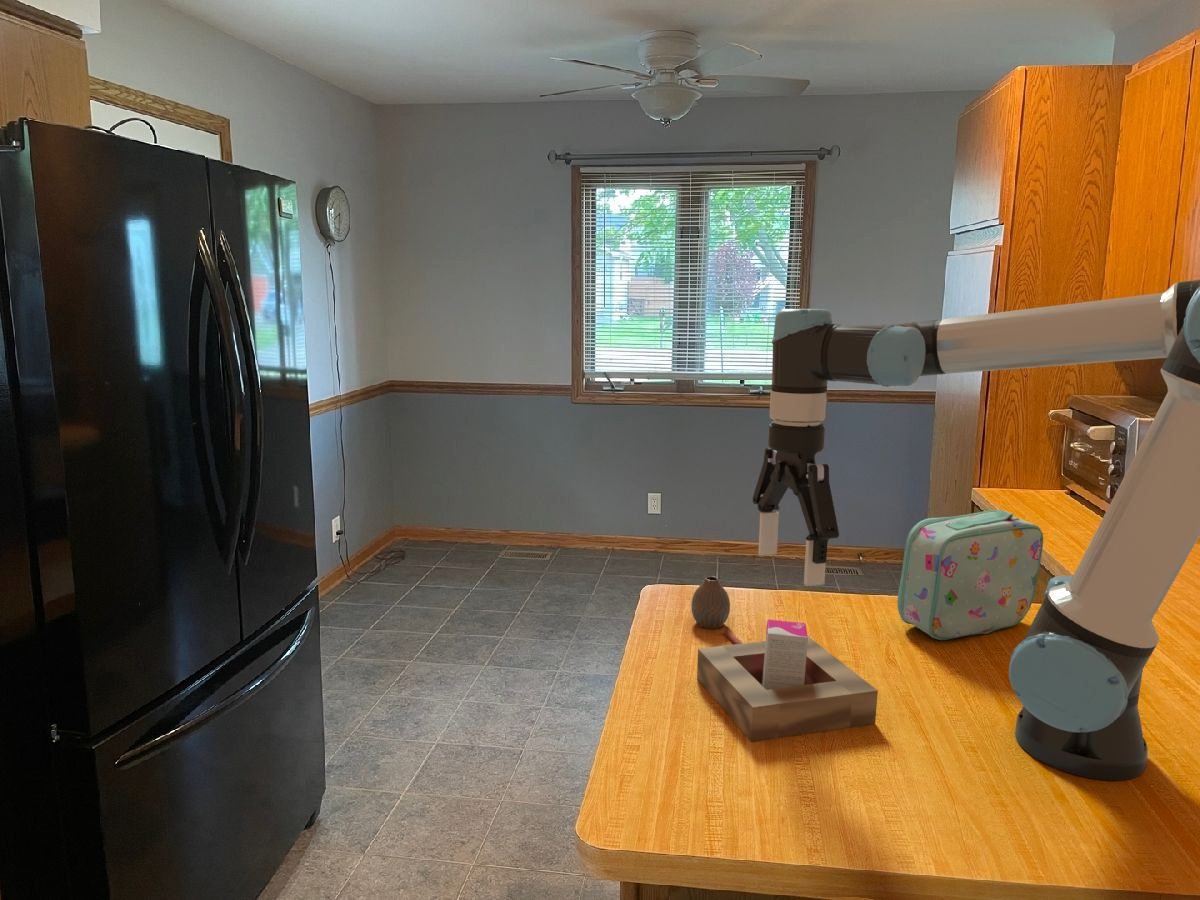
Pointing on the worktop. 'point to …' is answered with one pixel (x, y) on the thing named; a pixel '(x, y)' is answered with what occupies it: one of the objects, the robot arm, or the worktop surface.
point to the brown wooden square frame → (785, 692)
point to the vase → (710, 604)
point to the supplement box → (784, 654)
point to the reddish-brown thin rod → (732, 637)
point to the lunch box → (969, 573)
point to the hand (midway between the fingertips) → (789, 568)
